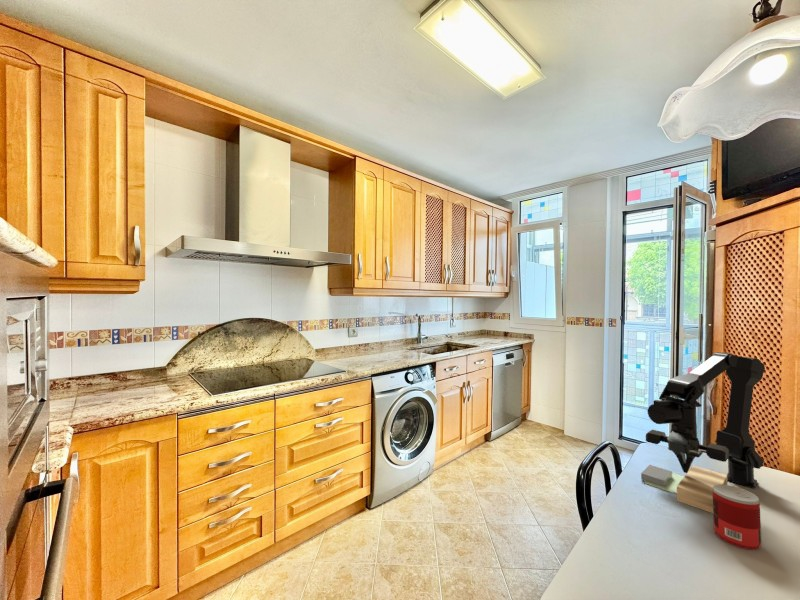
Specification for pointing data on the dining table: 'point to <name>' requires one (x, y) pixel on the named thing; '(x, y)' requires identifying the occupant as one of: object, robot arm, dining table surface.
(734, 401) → the robot arm
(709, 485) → the deck
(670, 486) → the mat
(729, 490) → the canned food
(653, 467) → the pale grey box
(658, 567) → the dining table surface
